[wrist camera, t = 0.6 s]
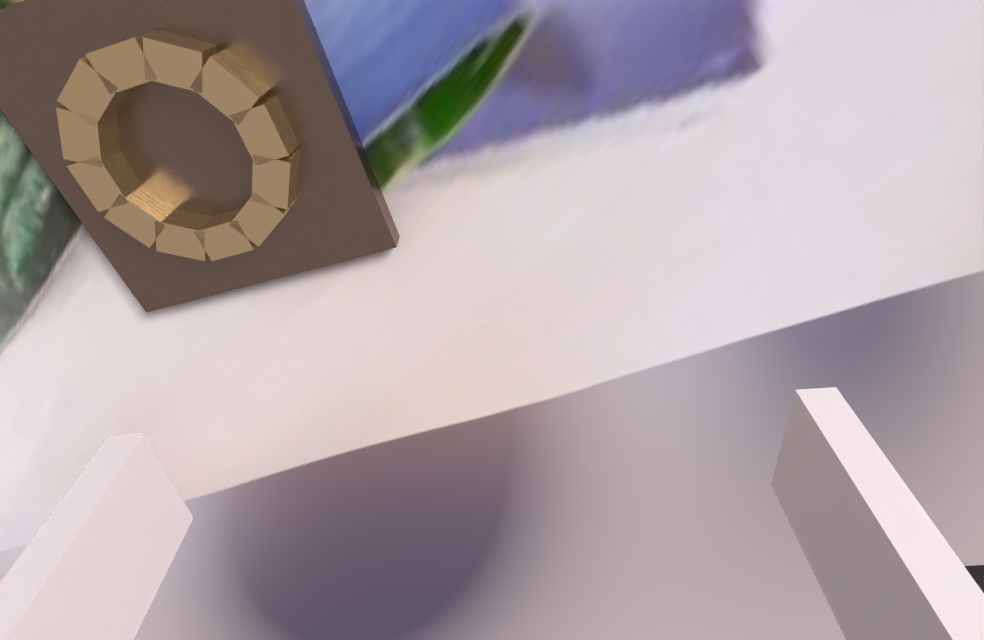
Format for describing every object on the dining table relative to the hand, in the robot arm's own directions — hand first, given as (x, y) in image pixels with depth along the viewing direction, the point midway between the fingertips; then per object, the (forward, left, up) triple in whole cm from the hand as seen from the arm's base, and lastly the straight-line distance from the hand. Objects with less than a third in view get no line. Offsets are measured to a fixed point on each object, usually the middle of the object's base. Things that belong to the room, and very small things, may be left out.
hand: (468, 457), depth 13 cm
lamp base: (-3, -17, -27) cm, 31 cm away
